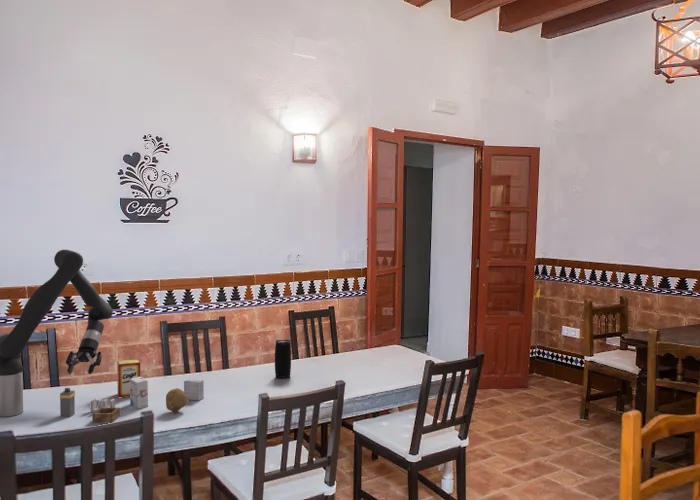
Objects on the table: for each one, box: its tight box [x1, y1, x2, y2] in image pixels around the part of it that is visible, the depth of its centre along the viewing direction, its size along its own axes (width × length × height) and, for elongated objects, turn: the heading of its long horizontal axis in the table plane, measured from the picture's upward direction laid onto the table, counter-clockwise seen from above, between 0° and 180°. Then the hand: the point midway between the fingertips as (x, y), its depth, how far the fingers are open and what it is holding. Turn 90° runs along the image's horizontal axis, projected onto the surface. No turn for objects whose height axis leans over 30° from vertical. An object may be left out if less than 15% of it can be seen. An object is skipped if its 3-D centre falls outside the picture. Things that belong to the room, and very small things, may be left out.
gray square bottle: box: [59, 387, 76, 418], centre depth 229 cm, size 4×4×12 cm
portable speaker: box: [274, 339, 292, 379], centre depth 292 cm, size 9×9×20 cm
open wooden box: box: [92, 407, 121, 424], centre depth 225 cm, size 8×8×4 cm
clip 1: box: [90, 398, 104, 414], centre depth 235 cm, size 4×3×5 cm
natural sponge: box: [165, 387, 189, 413], centre depth 235 cm, size 9×9×10 cm
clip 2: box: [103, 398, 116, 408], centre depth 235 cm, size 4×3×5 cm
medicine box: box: [183, 378, 205, 401], centre depth 253 cm, size 8×4×9 cm, turn 74°
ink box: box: [129, 376, 149, 409], centre depth 243 cm, size 9×5×12 cm, turn 45°
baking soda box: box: [116, 359, 141, 398], centre depth 259 cm, size 10×6×16 cm
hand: (79, 373), depth 240 cm, fingers open, 8 cm apart
